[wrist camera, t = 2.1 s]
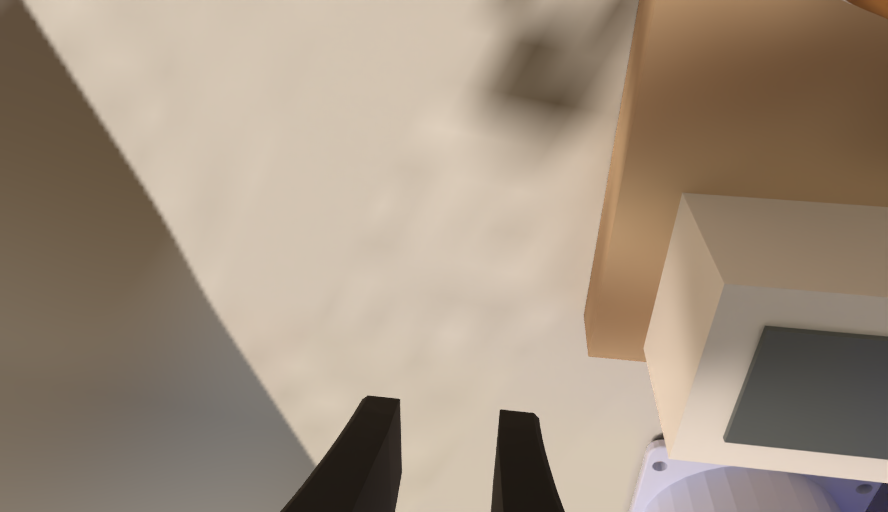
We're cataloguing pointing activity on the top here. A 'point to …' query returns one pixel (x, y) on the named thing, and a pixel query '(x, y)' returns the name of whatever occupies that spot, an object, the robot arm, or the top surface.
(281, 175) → the top surface
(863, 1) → the orange tube
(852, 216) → the block
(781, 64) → the subfloor panel
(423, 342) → the top surface
